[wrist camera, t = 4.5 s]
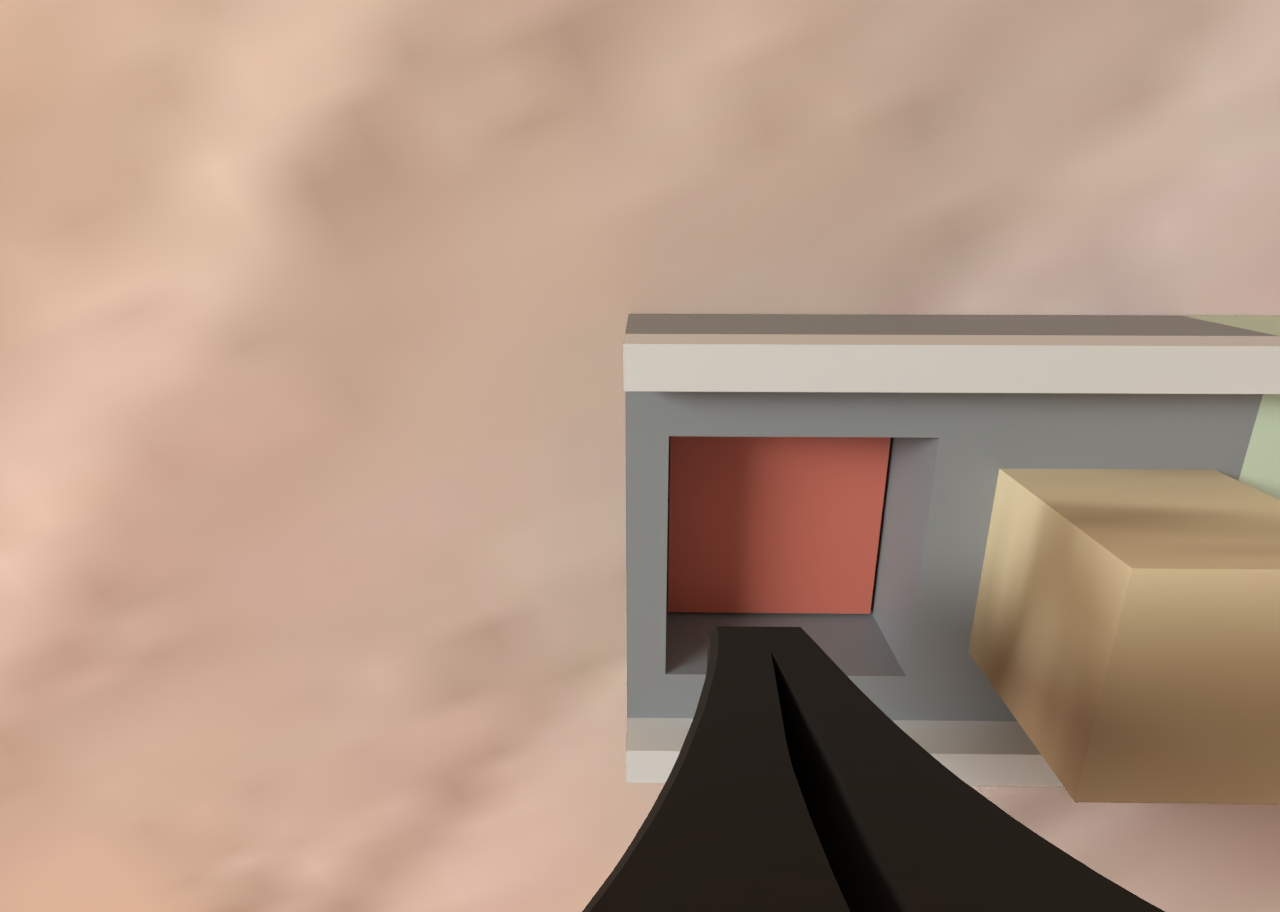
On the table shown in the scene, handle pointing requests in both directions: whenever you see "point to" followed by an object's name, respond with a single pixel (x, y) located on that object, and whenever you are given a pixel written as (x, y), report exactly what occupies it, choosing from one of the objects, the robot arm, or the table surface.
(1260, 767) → the maple block
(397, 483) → the table surface
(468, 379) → the table surface
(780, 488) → the trap lane
